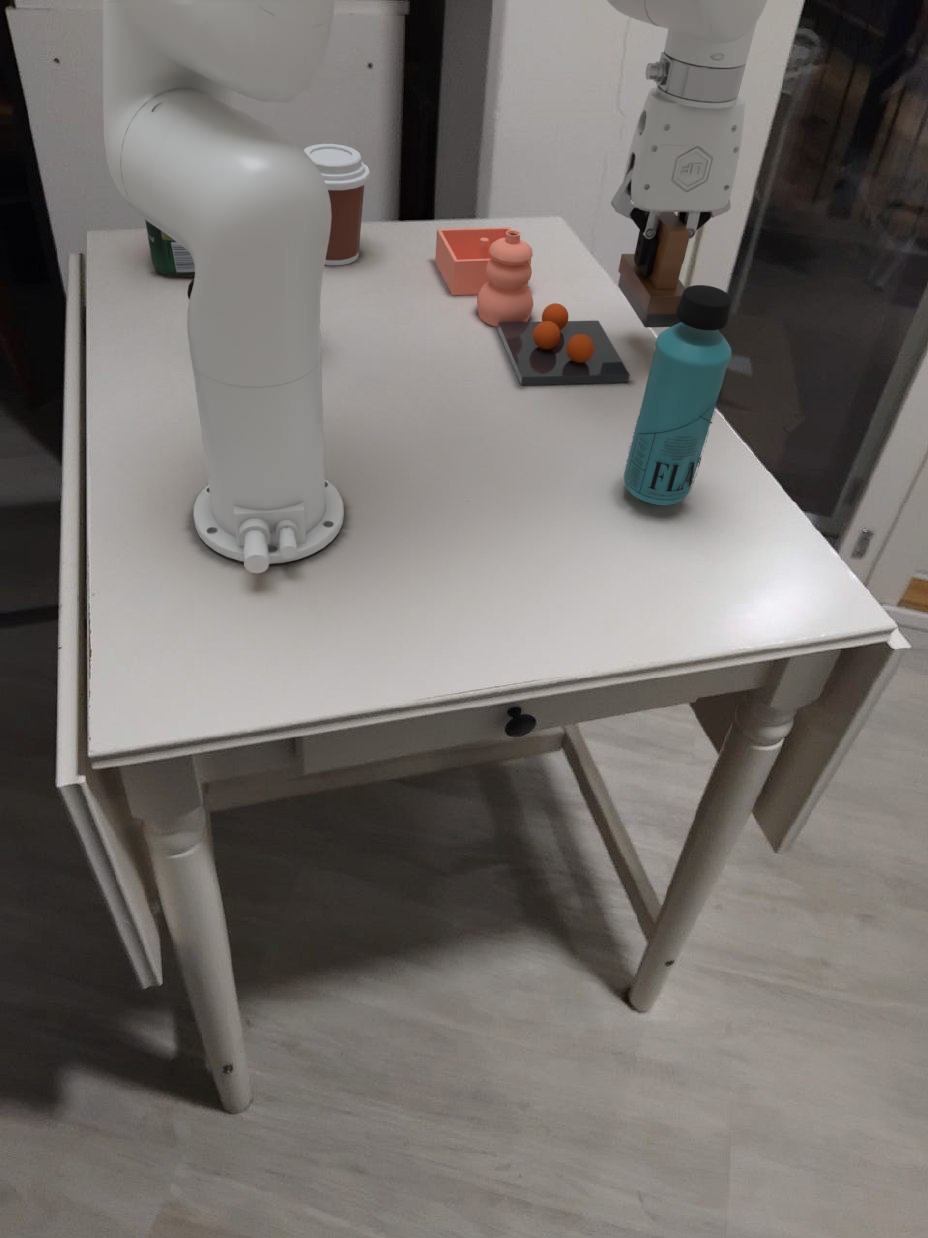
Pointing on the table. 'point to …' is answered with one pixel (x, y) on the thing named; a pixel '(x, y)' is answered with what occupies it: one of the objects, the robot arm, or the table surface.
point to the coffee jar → (169, 253)
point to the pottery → (488, 270)
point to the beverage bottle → (680, 398)
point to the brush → (657, 276)
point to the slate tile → (561, 355)
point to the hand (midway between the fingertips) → (656, 269)
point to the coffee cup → (342, 198)
